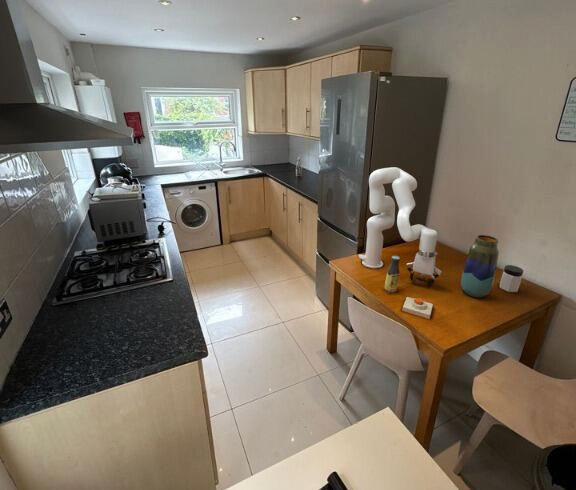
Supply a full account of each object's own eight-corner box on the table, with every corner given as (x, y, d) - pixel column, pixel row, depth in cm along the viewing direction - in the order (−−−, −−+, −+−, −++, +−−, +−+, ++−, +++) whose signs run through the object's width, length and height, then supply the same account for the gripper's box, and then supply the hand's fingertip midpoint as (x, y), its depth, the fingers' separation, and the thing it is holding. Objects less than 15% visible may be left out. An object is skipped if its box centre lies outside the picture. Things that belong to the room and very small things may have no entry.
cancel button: (413, 303, 143) (414, 300, 143) (415, 299, 146) (415, 296, 146) (422, 306, 141) (422, 302, 141) (423, 302, 144) (423, 299, 144)
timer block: (402, 310, 144) (403, 303, 143) (406, 300, 152) (407, 293, 151) (429, 319, 138) (430, 311, 137) (432, 307, 146) (433, 300, 145)
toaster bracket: (428, 288, 163) (432, 268, 158) (412, 284, 166) (415, 265, 162) (430, 279, 171) (434, 261, 167) (415, 276, 174) (419, 257, 170)
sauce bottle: (390, 295, 155) (395, 261, 148) (381, 289, 161) (385, 256, 154) (399, 292, 158) (404, 258, 151) (390, 286, 163) (395, 253, 157)
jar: (521, 290, 160) (528, 270, 156) (512, 294, 157) (518, 274, 153) (504, 282, 168) (509, 263, 164) (495, 286, 165) (500, 266, 160)
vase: (494, 295, 156) (509, 240, 145) (480, 303, 149) (495, 246, 138) (467, 283, 167) (480, 231, 156) (453, 290, 160) (465, 236, 149)
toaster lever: (426, 282, 160) (426, 280, 158) (415, 280, 162) (416, 278, 160) (430, 266, 165) (430, 263, 164) (420, 264, 168) (420, 261, 166)
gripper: (445, 253, 154) (439, 283, 159) (409, 246, 162) (405, 274, 168) (444, 259, 148) (438, 289, 153) (407, 251, 156) (402, 280, 162)
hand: (421, 281), depth 161 cm, fingers open, 9 cm apart
